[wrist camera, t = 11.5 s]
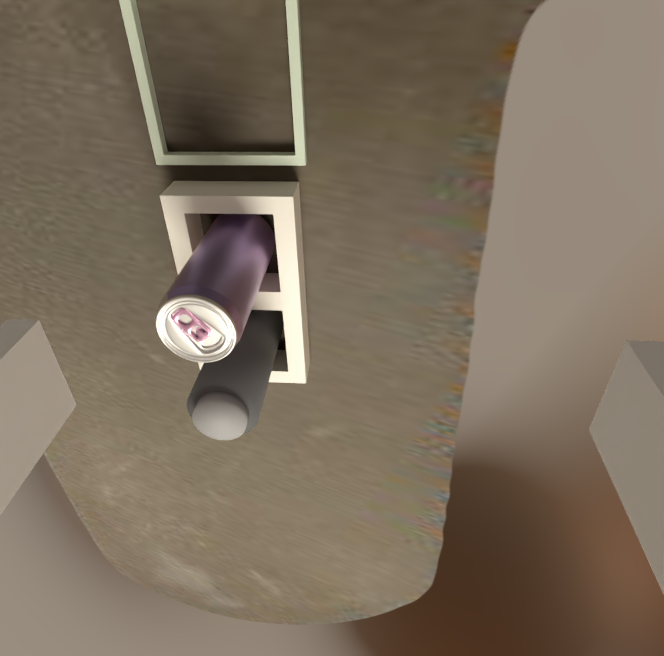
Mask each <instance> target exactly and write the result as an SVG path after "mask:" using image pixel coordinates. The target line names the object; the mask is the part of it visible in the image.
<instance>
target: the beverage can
mask: <svg viewBox="0 0 664 656" xmlns="http://www.w3.org/2000/svg"><path fill="white" fill-rule="evenodd" d="M274 248H275V238H274V234H273V231H272V229H271V227H270V226H269V224H268V223H267V222H266V221H265V220H264V219H263V218H262V217H261V216H259V215H258V214H220V215H219V216H218V217H217V218H216V219H215V220H214V222H213V223H212V225H211V226H210V228H209V229H208V231H207V232H206V234H205V235H204V237H203V238H202V240H201V241H200V243H199V244H198V246H197V247H196V249H195V250H194V252H193V253H192V255H191V257H190V258H189V260H188V261H187V263H186V264H185V266H184V267H183V269H182V270H181V272H180V273H179V275H178V276H177V278H176V279H175V281H174V282H173V284H172V285H171V287H170V288H169V290H168V291H167V293H166V294H165V296H164V297H163V299H162V300H161V302H160V305H159V310H158V312H157V315H156V330H157V333H158V335H159V337H160V339H161V340H162V342H163V343H164V344H165V346H166V347H167V348H168V349H170V350H171V351H172V352H173V353H175V354H176V355H178V356H180V357H182V358H184V359H187V360H190V361H194V362H200V363H209V362H215V361H218V360H221V359H223V358H224V357H226V356H227V355H228V354H230V352H231V351H232V350H233V348H234V347H235V346H236V345H237V343H238V342H239V340H240V339H241V336H242V334H243V331H244V328H245V326H246V323H247V320H248V318H249V315H250V312H251V310H252V307H253V304H254V302H255V299H256V297H257V294H258V291H259V289H260V286H261V283H262V281H263V278H264V275H265V273H266V270H267V267H268V265H269V262H270V260H271V257H272V254H273V252H274Z"/></svg>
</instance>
